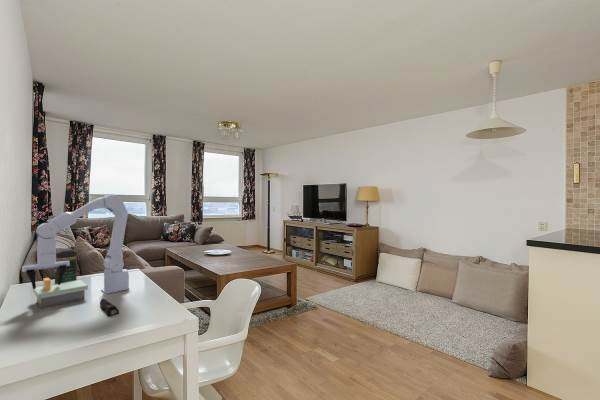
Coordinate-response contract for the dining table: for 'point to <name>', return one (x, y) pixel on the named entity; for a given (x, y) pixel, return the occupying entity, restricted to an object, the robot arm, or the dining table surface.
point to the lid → (58, 288)
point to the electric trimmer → (109, 307)
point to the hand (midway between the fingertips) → (46, 286)
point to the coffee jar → (71, 270)
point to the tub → (60, 299)
